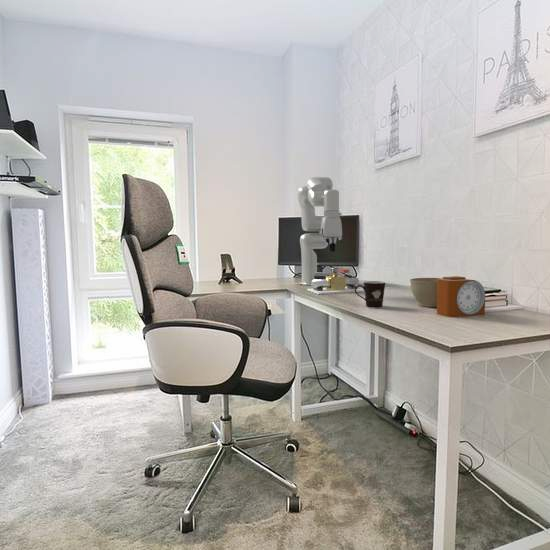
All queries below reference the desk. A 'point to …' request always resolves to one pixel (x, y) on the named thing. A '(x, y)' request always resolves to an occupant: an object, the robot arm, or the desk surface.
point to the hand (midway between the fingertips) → (331, 251)
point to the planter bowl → (425, 291)
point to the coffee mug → (373, 293)
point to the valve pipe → (334, 283)
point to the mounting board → (336, 291)
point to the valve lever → (340, 270)
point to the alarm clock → (460, 297)
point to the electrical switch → (320, 275)
